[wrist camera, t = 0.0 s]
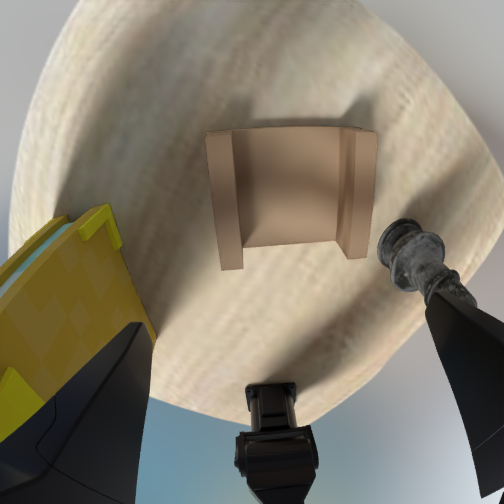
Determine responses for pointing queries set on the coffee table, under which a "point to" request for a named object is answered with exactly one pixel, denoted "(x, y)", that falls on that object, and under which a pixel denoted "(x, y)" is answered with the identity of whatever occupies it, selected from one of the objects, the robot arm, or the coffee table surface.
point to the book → (60, 309)
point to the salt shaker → (419, 261)
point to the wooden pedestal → (291, 188)
